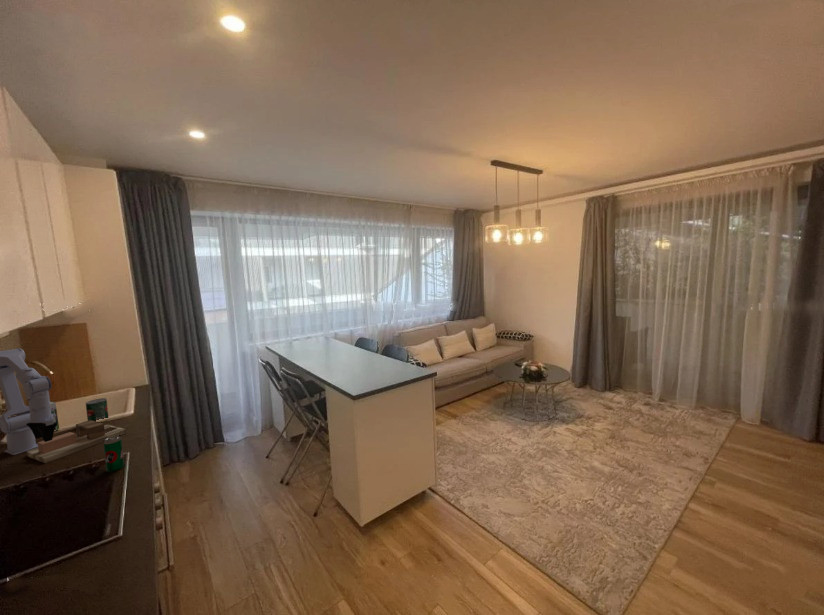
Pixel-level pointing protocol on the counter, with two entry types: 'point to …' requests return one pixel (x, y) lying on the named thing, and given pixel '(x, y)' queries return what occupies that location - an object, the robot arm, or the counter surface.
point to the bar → (57, 442)
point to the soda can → (113, 453)
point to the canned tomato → (97, 409)
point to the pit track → (80, 440)
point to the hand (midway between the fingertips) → (44, 439)
